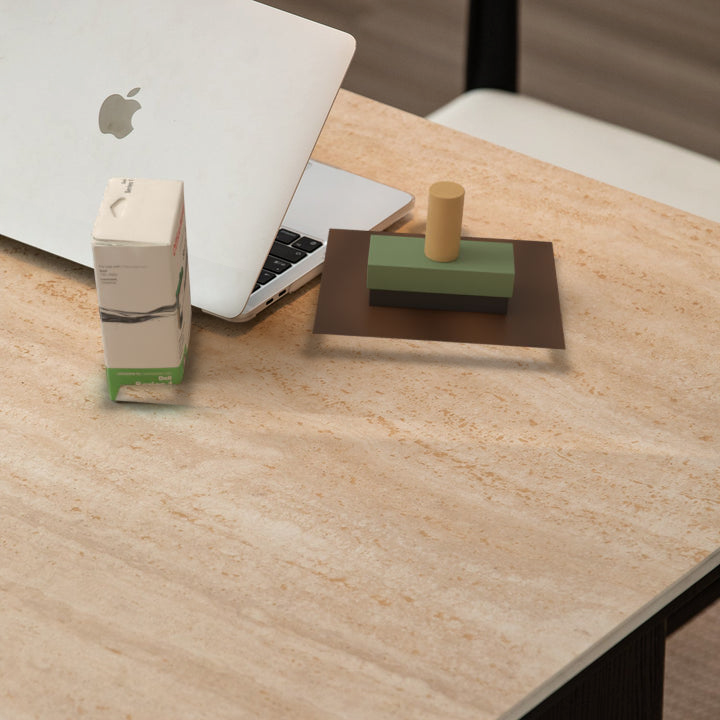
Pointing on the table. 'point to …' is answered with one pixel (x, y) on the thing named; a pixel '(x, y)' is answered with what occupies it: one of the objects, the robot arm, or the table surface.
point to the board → (516, 328)
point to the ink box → (142, 282)
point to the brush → (441, 263)
